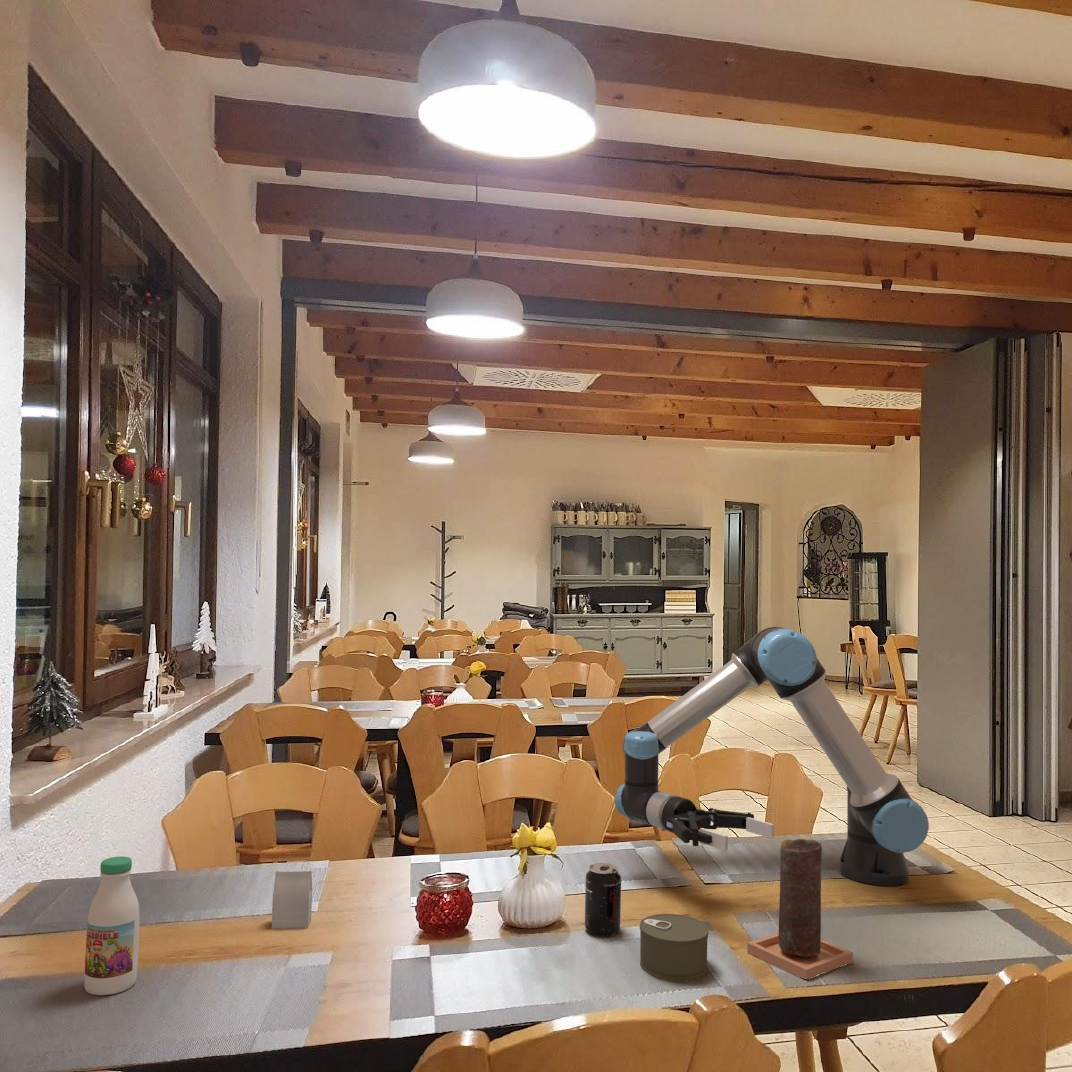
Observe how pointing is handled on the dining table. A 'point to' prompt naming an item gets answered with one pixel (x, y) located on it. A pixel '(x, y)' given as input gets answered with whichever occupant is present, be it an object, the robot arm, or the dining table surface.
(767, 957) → the dish
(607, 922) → the beverage can
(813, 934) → the candle
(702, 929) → the can
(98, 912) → the milk bottle
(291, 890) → the gray rectangular block
